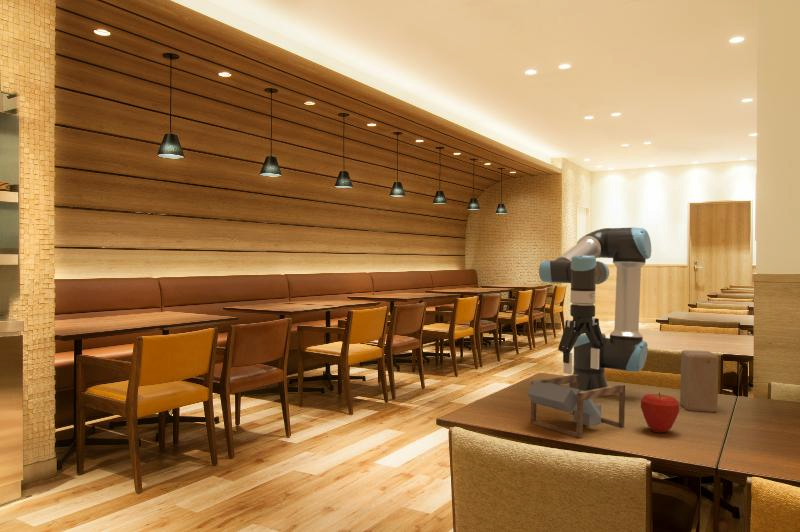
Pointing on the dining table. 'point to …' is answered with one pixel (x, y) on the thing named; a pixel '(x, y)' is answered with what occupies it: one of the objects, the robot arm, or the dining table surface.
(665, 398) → the apple
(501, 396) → the dining table surface
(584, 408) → the grey angular block
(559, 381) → the wooden rack
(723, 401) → the dining table surface
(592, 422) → the stone
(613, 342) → the robot arm
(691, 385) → the wooden block
